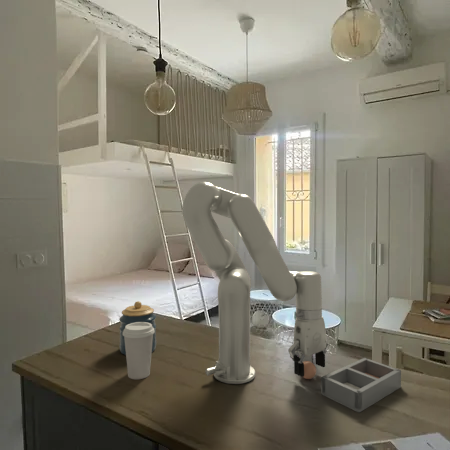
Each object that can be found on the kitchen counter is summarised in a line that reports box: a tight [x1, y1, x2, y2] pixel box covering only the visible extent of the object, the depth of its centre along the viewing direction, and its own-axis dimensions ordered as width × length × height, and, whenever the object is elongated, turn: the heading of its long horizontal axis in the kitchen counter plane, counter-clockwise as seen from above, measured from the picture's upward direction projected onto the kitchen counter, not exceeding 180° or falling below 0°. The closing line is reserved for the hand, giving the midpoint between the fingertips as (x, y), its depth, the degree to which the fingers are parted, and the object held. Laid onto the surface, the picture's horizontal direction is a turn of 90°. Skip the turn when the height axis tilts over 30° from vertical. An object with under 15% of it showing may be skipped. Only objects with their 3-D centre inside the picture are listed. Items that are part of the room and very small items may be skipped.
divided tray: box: [320, 357, 402, 413], centre depth 97 cm, size 21×11×5 cm, turn 127°
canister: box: [118, 300, 157, 356], centre depth 126 cm, size 13×13×18 cm
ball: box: [302, 361, 317, 380], centre depth 104 cm, size 5×5×5 cm
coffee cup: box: [122, 322, 155, 380], centre depth 107 cm, size 10×10×15 cm
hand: (310, 370), depth 104 cm, fingers open, 9 cm apart
